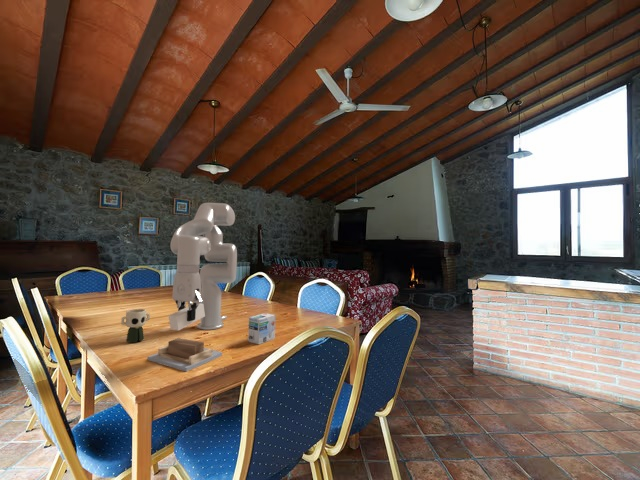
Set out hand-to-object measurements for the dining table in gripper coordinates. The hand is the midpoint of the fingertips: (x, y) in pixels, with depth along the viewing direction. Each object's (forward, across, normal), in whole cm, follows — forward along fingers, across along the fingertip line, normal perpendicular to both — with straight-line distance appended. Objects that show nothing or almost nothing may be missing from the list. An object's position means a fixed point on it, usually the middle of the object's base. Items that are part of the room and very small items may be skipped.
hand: (186, 319), depth 107 cm
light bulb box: (+15, +11, +31) cm, 36 cm away
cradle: (+13, 0, 0) cm, 13 cm away
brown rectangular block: (+13, 0, 0) cm, 13 cm away
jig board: (+15, -1, +1) cm, 15 cm away
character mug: (+15, -34, +3) cm, 37 cm away
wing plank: (+1, 0, +1) cm, 2 cm away
